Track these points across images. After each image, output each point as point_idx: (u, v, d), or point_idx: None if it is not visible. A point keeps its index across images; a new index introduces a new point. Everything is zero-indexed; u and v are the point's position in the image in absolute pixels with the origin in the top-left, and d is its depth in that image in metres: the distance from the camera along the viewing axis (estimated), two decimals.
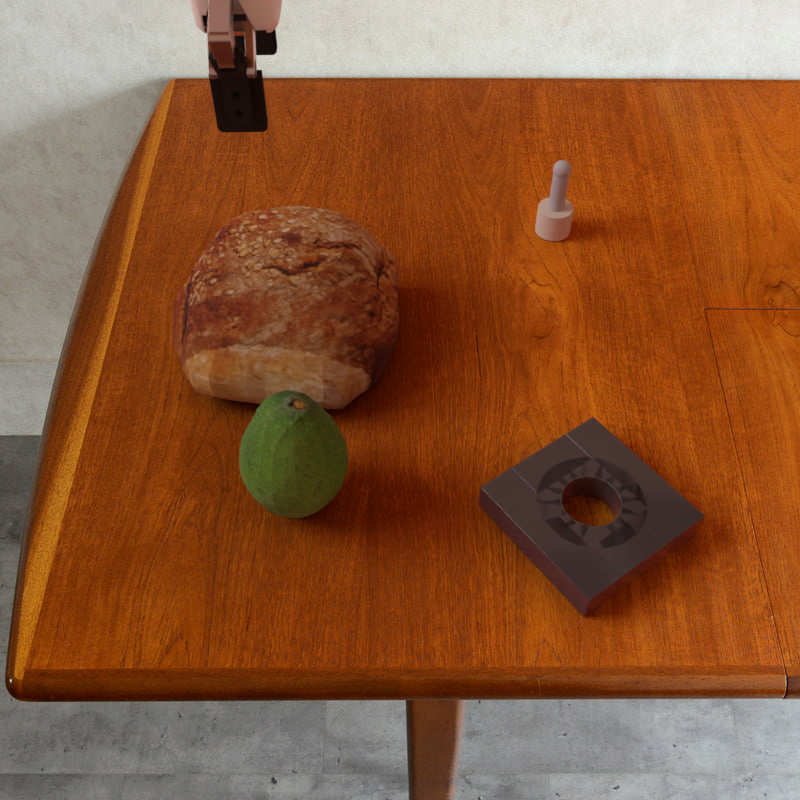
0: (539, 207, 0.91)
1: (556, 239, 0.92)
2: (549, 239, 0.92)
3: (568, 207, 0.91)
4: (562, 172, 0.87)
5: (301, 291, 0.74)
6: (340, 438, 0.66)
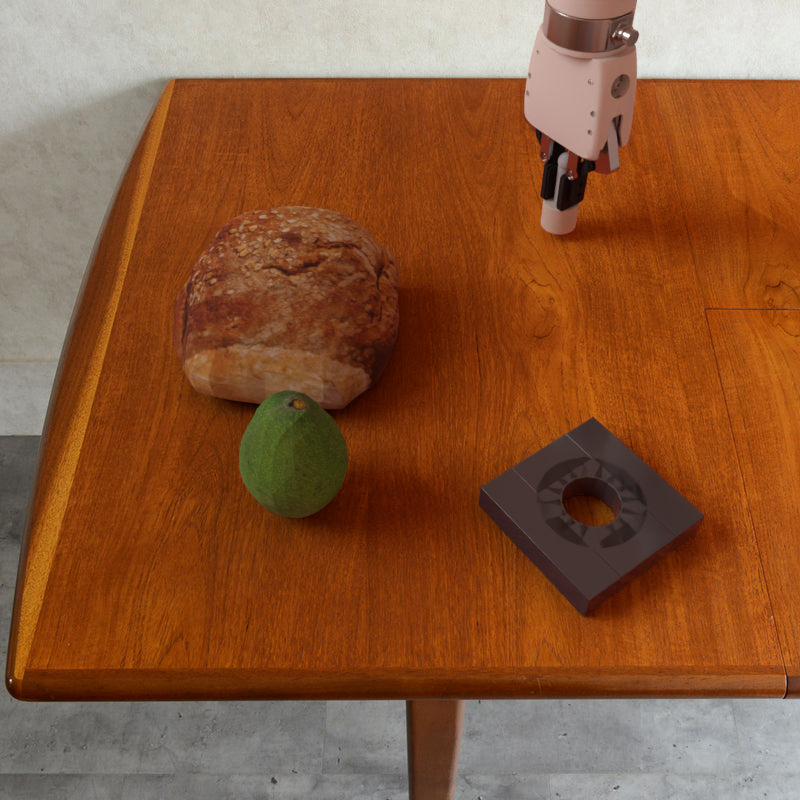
0: (544, 200, 0.90)
1: (562, 232, 0.91)
2: (555, 232, 0.91)
3: None
4: None
5: (301, 291, 0.74)
6: (340, 438, 0.66)
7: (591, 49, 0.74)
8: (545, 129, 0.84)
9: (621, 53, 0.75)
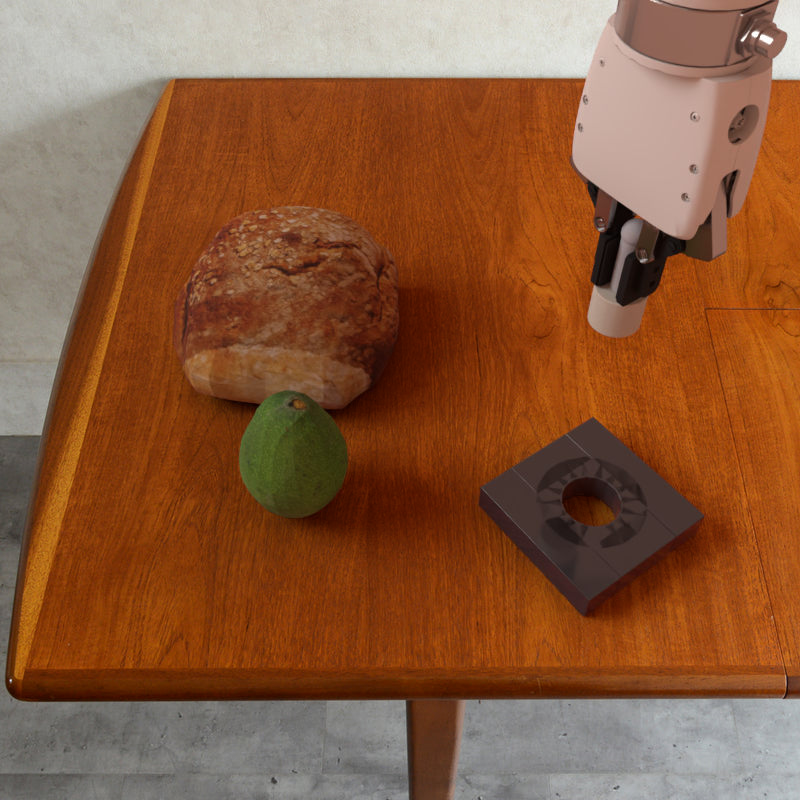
0: (596, 287, 0.59)
1: (621, 334, 0.60)
2: (610, 335, 0.60)
3: None
4: (637, 238, 0.55)
5: (301, 291, 0.74)
6: (340, 438, 0.66)
7: (702, 62, 0.43)
8: (606, 185, 0.53)
9: (750, 69, 0.44)
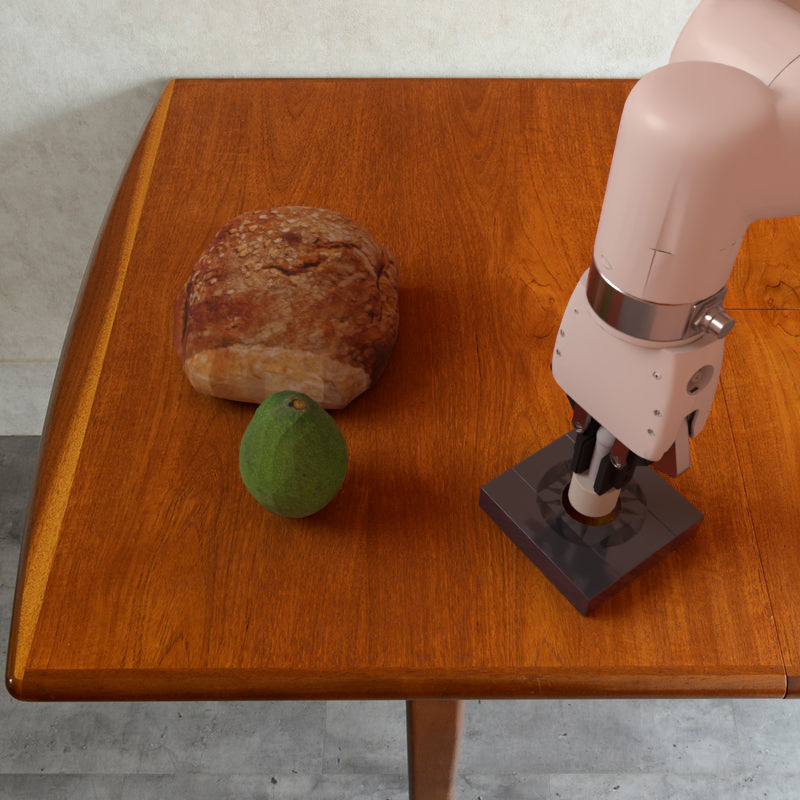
0: (575, 474, 0.65)
1: (598, 515, 0.66)
2: (589, 515, 0.66)
3: None
4: (611, 443, 0.61)
5: (301, 291, 0.74)
6: (340, 438, 0.66)
7: (661, 338, 0.49)
8: (582, 403, 0.59)
9: (704, 338, 0.50)
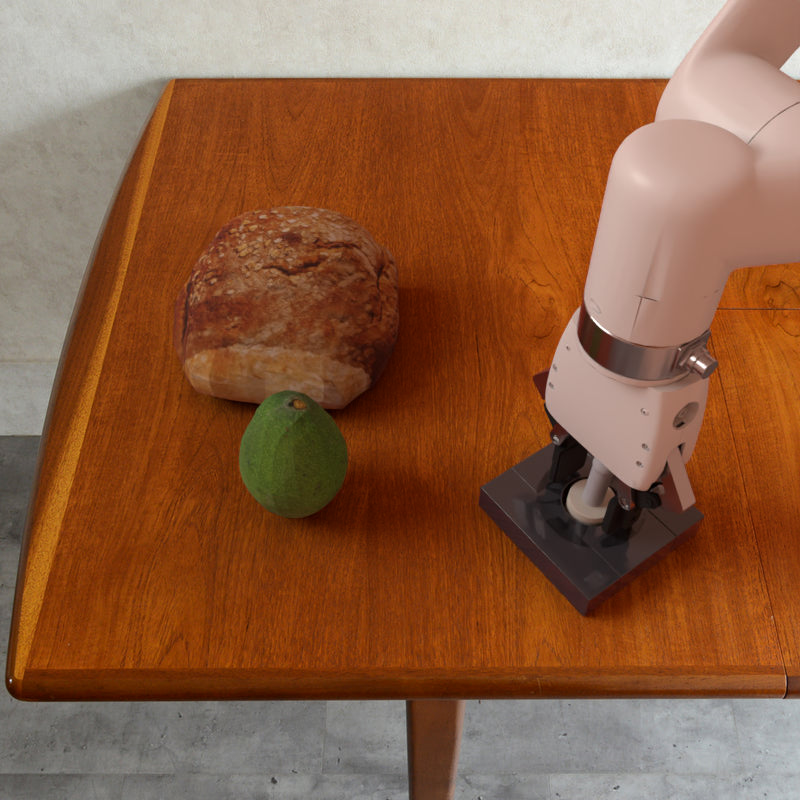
0: (570, 498, 0.67)
1: None
2: None
3: (609, 499, 0.67)
4: (606, 471, 0.63)
5: (301, 291, 0.74)
6: (340, 438, 0.66)
7: (648, 377, 0.52)
8: (574, 433, 0.61)
9: (689, 377, 0.53)
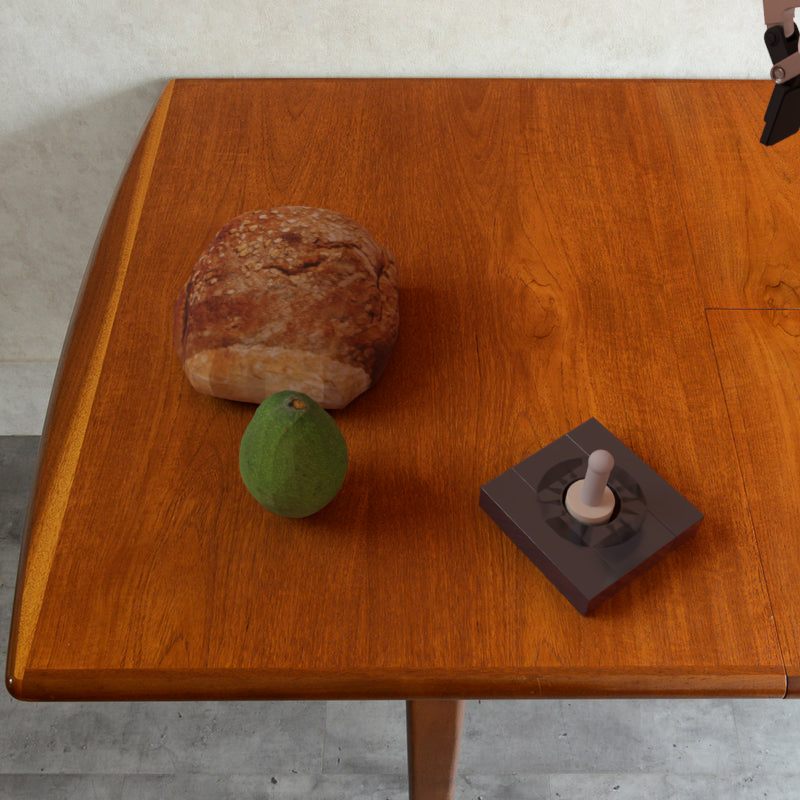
0: (568, 498, 0.67)
1: None
2: None
3: (607, 498, 0.67)
4: (602, 469, 0.63)
5: (302, 291, 0.74)
6: (340, 438, 0.66)
7: None
8: None
9: None
